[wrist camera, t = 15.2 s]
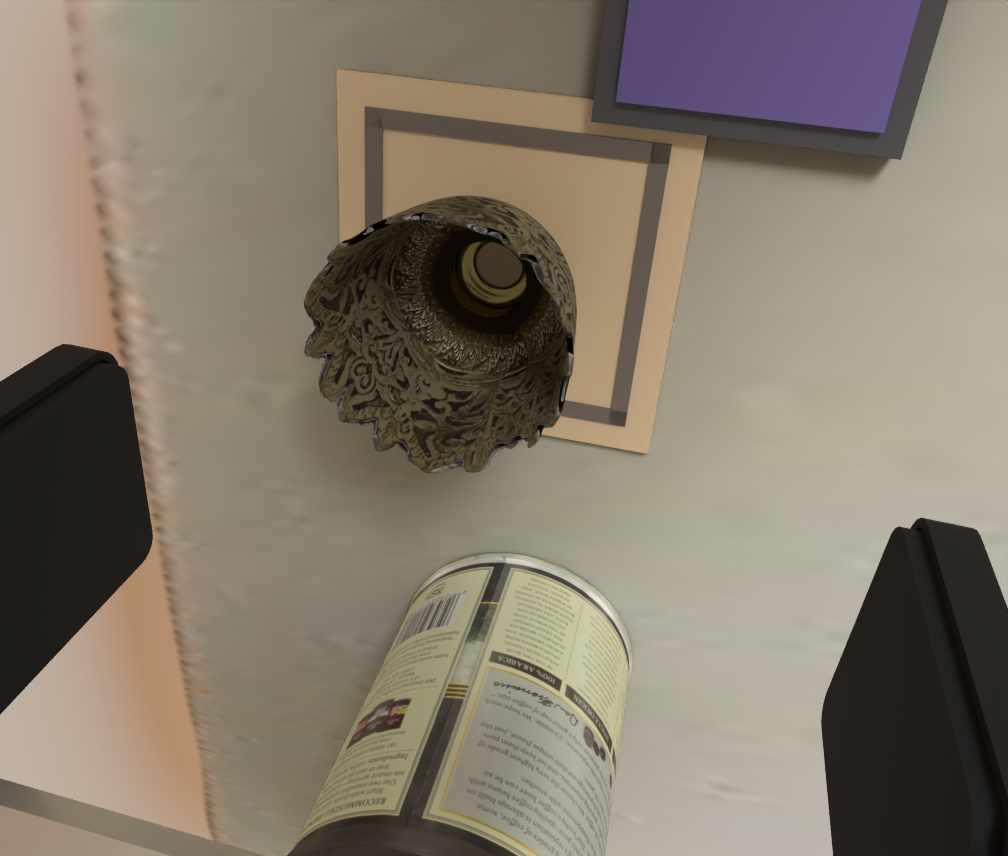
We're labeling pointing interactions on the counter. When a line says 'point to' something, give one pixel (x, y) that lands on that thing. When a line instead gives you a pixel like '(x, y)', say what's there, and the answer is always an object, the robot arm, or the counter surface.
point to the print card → (542, 216)
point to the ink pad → (769, 69)
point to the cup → (445, 332)
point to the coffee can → (485, 722)
